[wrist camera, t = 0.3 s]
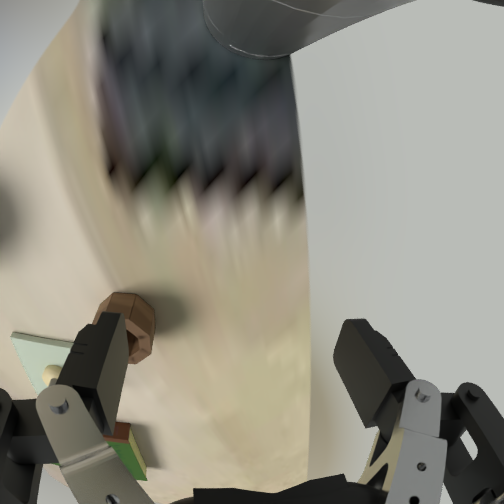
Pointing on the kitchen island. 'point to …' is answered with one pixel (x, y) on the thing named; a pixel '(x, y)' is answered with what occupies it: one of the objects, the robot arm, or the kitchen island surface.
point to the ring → (133, 322)
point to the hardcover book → (126, 450)
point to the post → (41, 358)
